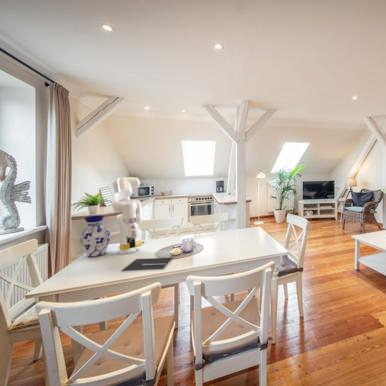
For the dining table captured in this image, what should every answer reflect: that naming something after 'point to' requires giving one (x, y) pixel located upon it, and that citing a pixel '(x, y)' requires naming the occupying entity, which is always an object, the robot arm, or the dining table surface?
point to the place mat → (138, 262)
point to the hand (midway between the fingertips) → (131, 246)
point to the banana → (127, 245)
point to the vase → (95, 237)
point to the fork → (152, 264)
